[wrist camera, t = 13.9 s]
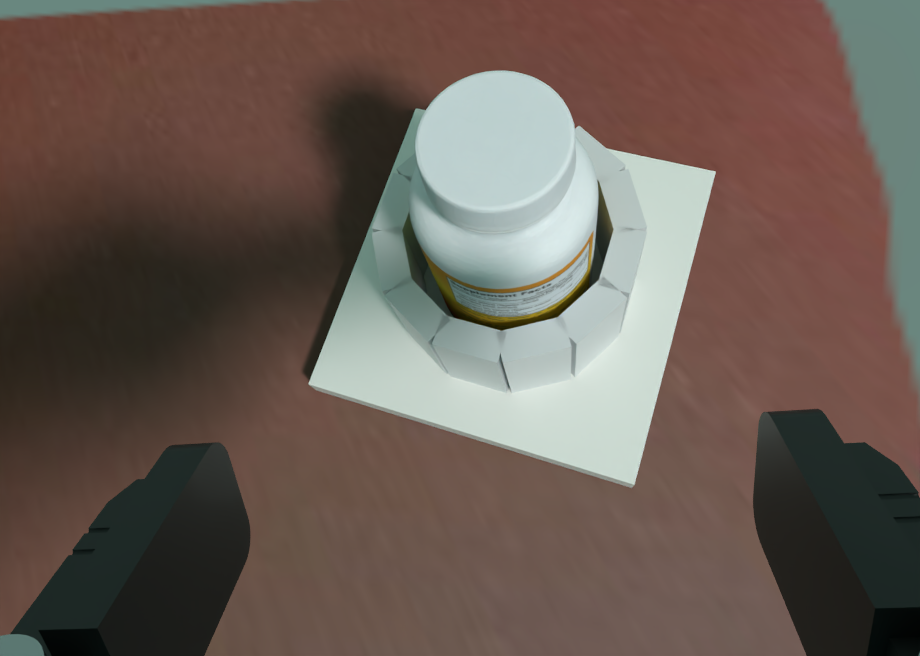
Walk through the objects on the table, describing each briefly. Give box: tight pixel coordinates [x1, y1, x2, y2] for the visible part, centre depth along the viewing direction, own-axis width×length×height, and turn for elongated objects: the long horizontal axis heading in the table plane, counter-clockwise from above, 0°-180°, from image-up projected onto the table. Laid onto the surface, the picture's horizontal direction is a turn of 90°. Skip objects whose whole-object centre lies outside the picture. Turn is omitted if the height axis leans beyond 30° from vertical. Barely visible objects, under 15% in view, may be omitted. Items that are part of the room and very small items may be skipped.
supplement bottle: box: [409, 71, 598, 331], centre depth 23 cm, size 5×5×10 cm
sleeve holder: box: [309, 109, 716, 488], centre depth 26 cm, size 12×12×5 cm
